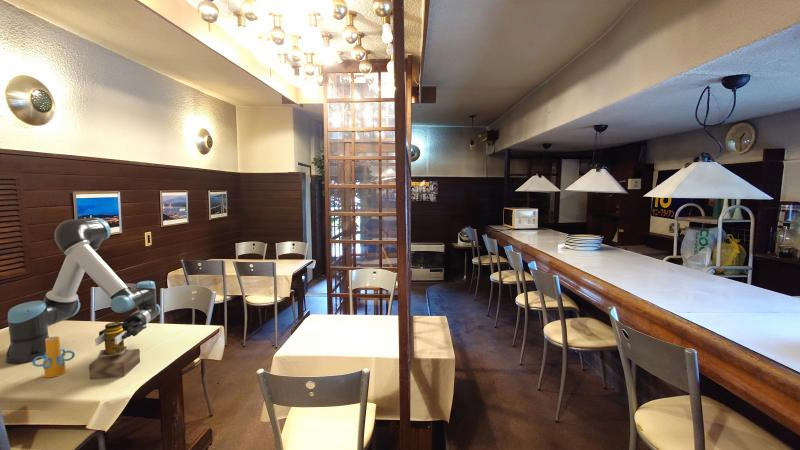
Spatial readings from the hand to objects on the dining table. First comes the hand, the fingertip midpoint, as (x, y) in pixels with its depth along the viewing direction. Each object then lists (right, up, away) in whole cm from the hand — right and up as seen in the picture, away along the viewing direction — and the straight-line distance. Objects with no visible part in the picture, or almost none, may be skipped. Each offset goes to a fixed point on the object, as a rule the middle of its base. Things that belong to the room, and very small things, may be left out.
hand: (106, 341), depth 139 cm
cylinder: (-23, -14, +3) cm, 27 cm away
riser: (-1, -14, +6) cm, 15 cm away
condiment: (-2, -6, +5) cm, 8 cm away
